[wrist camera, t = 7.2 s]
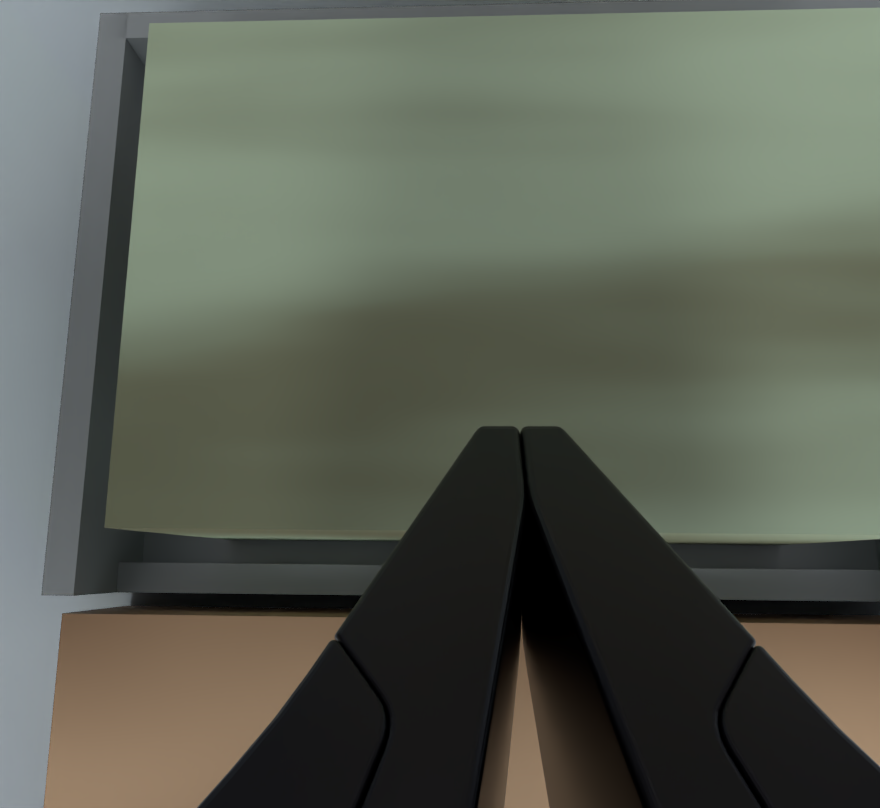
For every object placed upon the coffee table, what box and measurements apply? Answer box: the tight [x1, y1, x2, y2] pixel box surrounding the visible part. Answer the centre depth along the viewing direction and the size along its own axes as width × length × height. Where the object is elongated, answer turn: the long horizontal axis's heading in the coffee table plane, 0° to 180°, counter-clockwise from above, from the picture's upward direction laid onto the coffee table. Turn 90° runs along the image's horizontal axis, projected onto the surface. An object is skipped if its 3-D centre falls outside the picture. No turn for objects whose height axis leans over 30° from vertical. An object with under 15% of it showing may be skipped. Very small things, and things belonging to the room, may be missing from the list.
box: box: [42, 0, 880, 602], centre depth 15 cm, size 10×14×3 cm
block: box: [104, 8, 880, 545], centre depth 13 cm, size 5×10×7 cm
